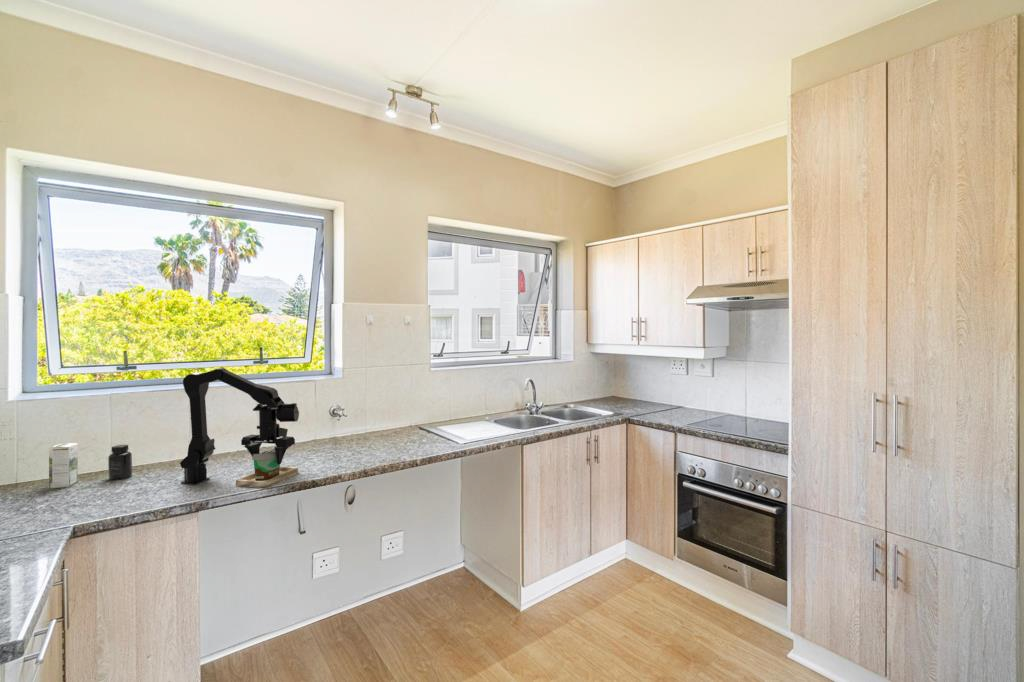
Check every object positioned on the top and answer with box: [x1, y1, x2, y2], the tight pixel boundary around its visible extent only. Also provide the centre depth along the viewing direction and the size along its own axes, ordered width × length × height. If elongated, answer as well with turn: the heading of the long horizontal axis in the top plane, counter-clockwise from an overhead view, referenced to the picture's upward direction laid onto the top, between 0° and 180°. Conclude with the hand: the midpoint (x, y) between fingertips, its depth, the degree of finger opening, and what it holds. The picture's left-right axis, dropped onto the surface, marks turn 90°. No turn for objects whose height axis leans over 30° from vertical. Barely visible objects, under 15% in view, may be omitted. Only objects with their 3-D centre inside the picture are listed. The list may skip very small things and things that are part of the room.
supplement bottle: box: [107, 444, 133, 481], centre depth 175 cm, size 7×7×12 cm
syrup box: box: [48, 442, 79, 489], centre depth 166 cm, size 6×6×14 cm
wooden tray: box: [235, 465, 299, 489], centre depth 174 cm, size 12×18×2 cm, turn 169°
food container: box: [252, 445, 281, 481], centre depth 174 cm, size 12×6×10 cm, turn 169°
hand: (268, 463), depth 174 cm, fingers open, 9 cm apart
